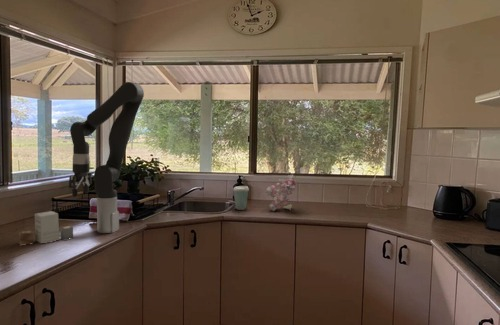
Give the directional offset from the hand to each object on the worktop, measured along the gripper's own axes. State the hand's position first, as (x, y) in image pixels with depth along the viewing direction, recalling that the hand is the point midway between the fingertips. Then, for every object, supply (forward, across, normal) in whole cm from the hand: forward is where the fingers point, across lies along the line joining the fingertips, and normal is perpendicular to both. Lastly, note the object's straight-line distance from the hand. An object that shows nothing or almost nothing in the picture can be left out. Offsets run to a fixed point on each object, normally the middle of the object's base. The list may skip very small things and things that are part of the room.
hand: (80, 194), depth 166 cm
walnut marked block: (+18, -24, +9) cm, 31 cm away
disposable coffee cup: (+15, +66, -71) cm, 98 cm away
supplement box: (+18, -19, +3) cm, 26 cm away
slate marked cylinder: (+18, -14, -3) cm, 23 cm away
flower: (+15, +69, -97) cm, 120 cm away
